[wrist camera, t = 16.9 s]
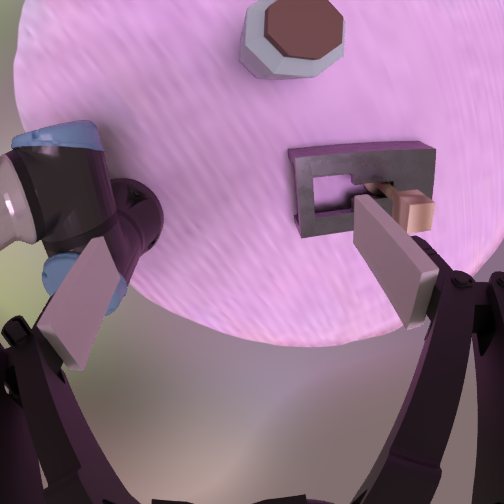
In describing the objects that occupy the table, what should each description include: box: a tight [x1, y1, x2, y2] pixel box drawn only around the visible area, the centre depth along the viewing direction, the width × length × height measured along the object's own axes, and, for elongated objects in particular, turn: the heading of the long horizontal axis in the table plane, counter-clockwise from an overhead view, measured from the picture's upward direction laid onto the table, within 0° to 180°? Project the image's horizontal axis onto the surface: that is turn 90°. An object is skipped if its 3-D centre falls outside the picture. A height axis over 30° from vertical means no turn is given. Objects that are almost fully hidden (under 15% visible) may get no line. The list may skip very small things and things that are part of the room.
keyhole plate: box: [288, 141, 436, 238], centre depth 49 cm, size 26×14×6 cm, turn 98°
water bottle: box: [240, 0, 345, 80], centre depth 29 cm, size 10×10×25 cm
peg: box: [363, 181, 435, 234], centre depth 45 cm, size 5×5×17 cm
